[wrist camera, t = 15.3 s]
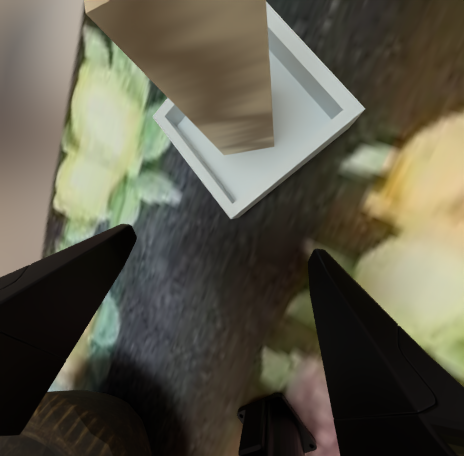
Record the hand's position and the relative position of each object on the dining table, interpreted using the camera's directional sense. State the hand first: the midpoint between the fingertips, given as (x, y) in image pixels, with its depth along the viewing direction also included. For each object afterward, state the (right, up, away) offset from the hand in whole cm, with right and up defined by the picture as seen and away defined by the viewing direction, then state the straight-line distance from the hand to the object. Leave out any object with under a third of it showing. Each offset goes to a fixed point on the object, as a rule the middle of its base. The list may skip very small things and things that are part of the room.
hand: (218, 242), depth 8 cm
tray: (+2, +11, +9) cm, 14 cm away
